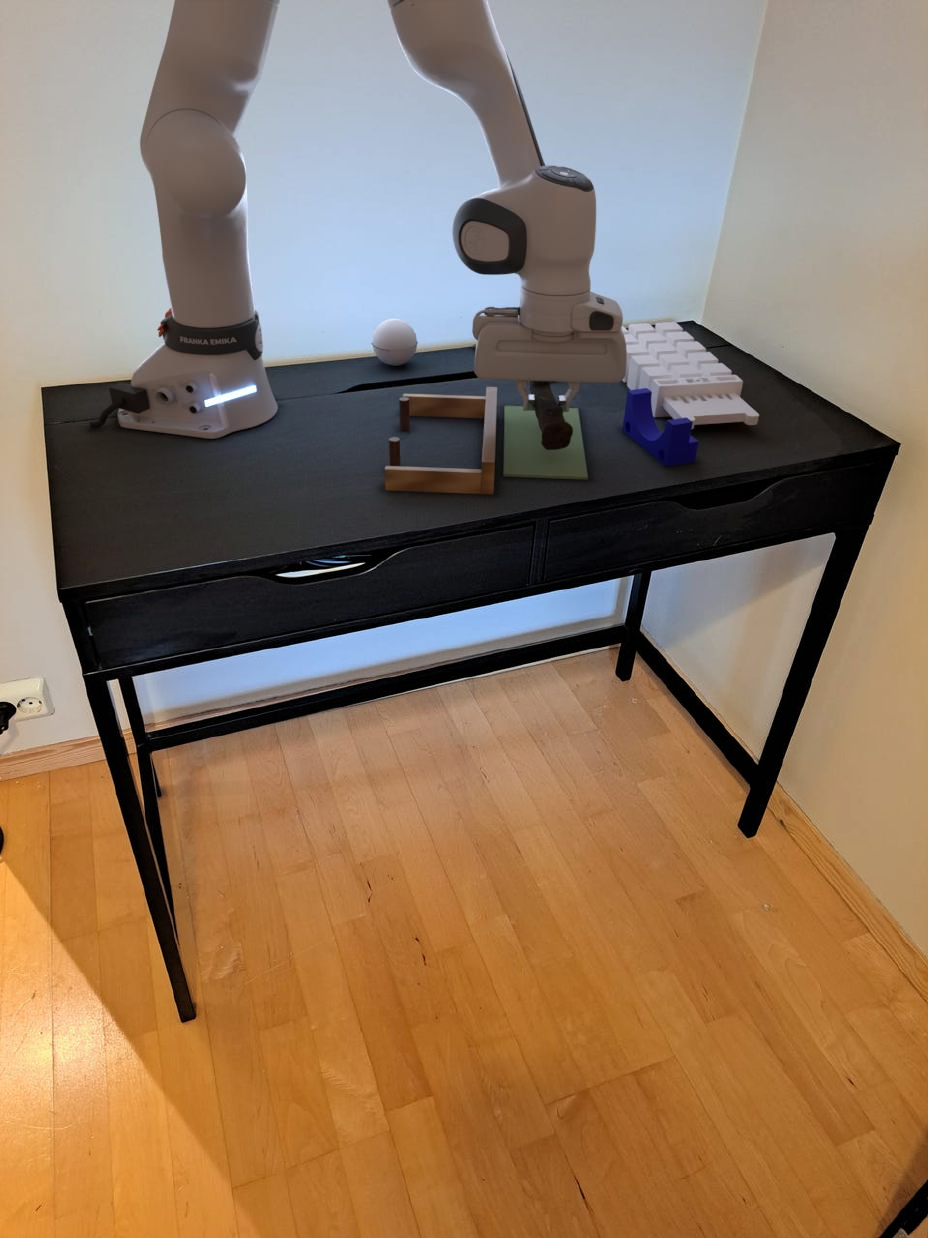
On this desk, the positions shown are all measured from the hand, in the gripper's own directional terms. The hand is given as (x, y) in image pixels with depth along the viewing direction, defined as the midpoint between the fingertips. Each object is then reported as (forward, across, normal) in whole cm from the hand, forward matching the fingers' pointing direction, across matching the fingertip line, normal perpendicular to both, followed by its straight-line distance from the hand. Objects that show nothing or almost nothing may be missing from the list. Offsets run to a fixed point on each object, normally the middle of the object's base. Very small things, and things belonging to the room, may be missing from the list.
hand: (546, 409), depth 124 cm
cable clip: (+5, +16, 0) cm, 17 cm away
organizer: (+5, +21, +20) cm, 29 cm away
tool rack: (+5, -14, -4) cm, 15 cm away
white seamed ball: (+5, -23, +26) cm, 35 cm away
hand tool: (+2, -1, 0) cm, 2 cm away
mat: (+5, 0, 0) cm, 5 cm away
